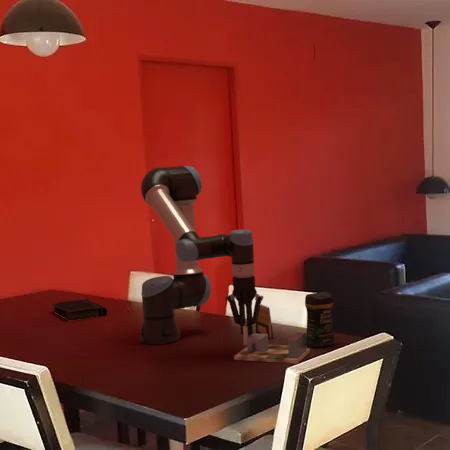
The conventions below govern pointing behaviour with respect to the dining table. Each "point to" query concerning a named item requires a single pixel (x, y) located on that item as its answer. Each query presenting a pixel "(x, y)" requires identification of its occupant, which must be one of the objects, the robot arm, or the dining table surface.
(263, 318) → the ammunition clip
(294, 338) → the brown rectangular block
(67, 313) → the diary
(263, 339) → the grey rectangular block
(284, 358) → the board
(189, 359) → the dining table surface
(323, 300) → the coffee jar
